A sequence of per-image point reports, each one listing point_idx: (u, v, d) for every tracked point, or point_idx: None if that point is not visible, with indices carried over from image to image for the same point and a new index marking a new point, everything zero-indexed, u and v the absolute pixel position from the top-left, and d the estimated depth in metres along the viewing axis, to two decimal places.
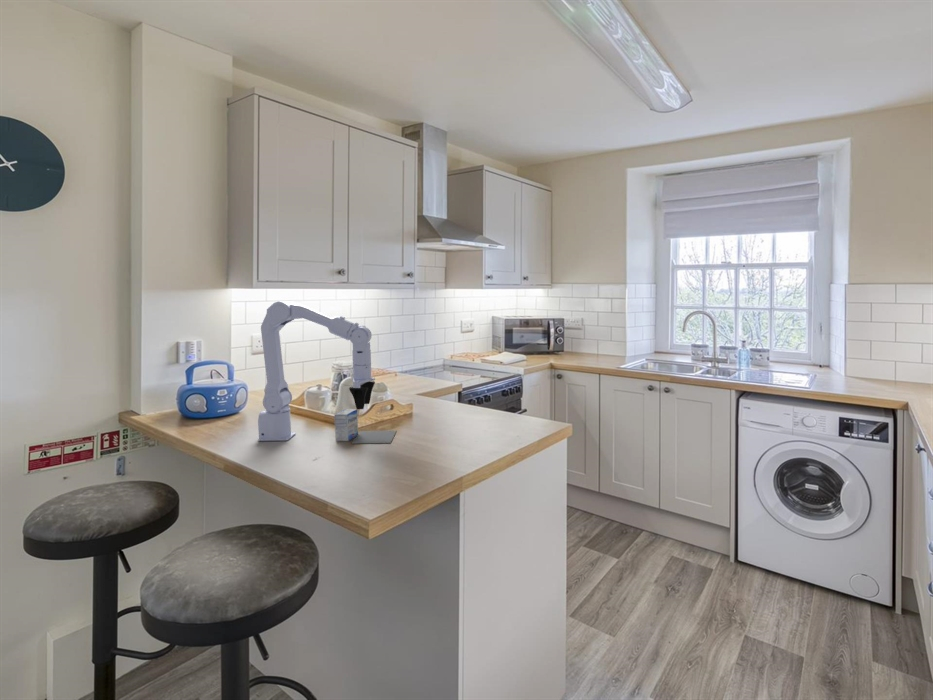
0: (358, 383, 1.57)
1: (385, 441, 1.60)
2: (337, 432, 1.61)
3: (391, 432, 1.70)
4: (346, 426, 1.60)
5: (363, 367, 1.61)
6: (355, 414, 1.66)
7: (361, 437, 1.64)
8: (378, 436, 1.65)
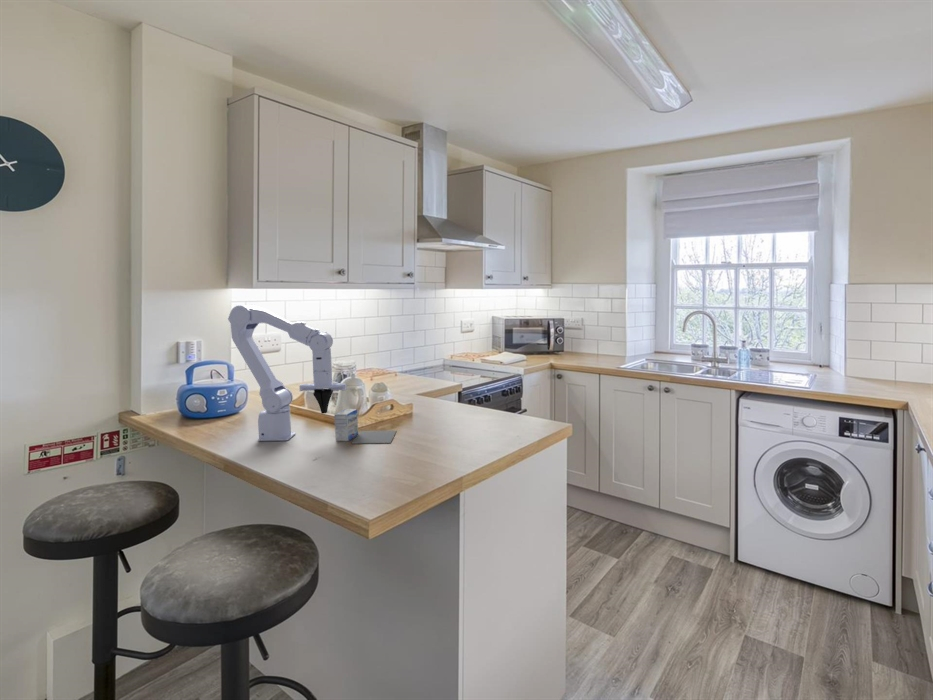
0: None
1: (385, 441, 1.60)
2: (337, 432, 1.61)
3: (391, 432, 1.70)
4: (346, 426, 1.60)
5: (313, 373, 1.62)
6: (355, 414, 1.66)
7: (361, 437, 1.64)
8: (378, 436, 1.65)
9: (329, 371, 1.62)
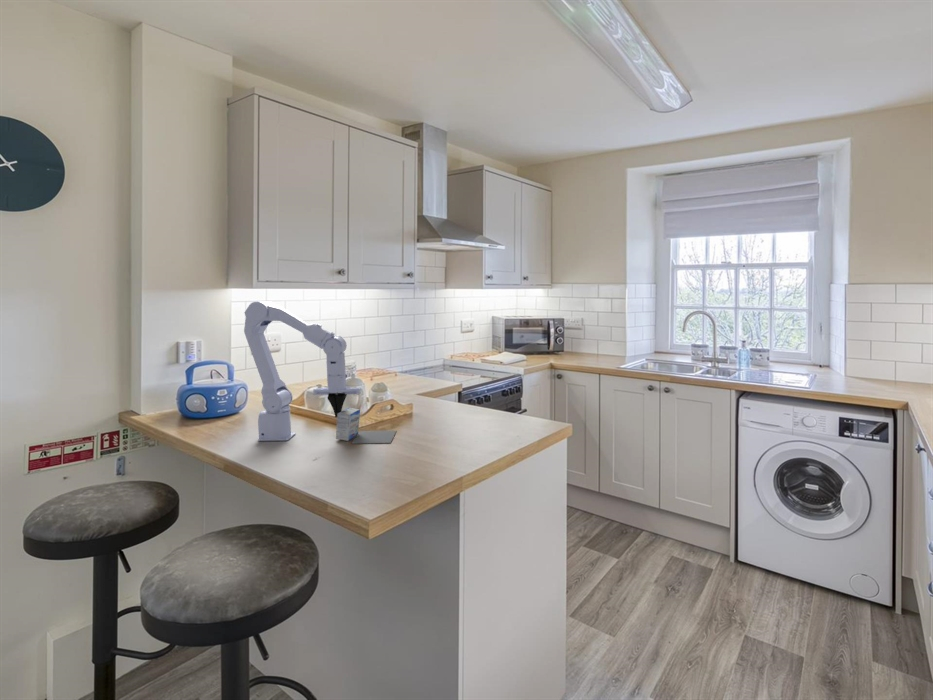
0: None
1: (385, 441, 1.60)
2: (338, 430, 1.61)
3: (391, 432, 1.70)
4: (348, 426, 1.60)
5: (327, 377, 1.62)
6: (358, 414, 1.66)
7: (361, 437, 1.64)
8: (378, 436, 1.65)
9: (343, 375, 1.62)
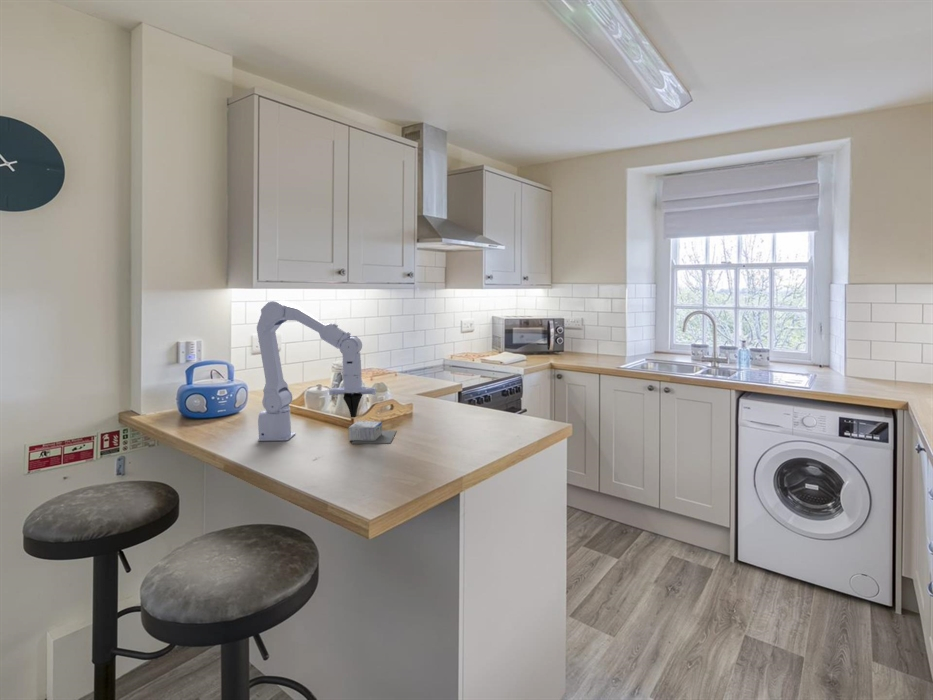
0: None
1: (385, 441, 1.60)
2: (356, 430, 1.60)
3: (391, 432, 1.70)
4: (363, 439, 1.60)
5: (343, 377, 1.62)
6: None
7: None
8: None
9: (359, 375, 1.62)
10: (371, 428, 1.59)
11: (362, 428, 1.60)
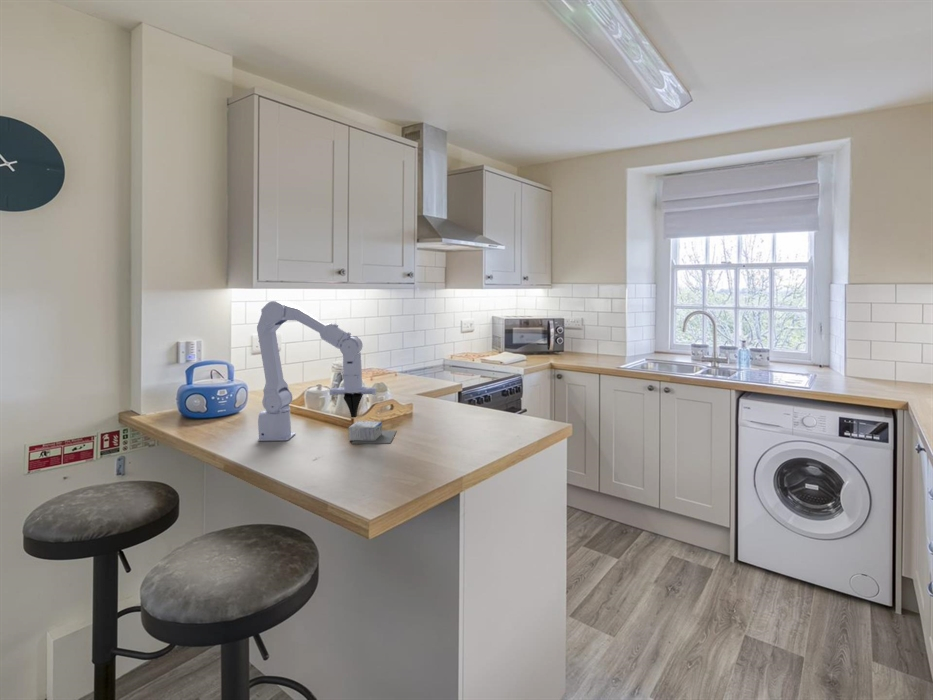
0: None
1: (385, 441, 1.60)
2: (356, 430, 1.60)
3: (391, 432, 1.70)
4: (363, 439, 1.60)
5: (343, 377, 1.62)
6: None
7: None
8: None
9: (360, 375, 1.62)
10: (371, 428, 1.59)
11: (362, 428, 1.60)
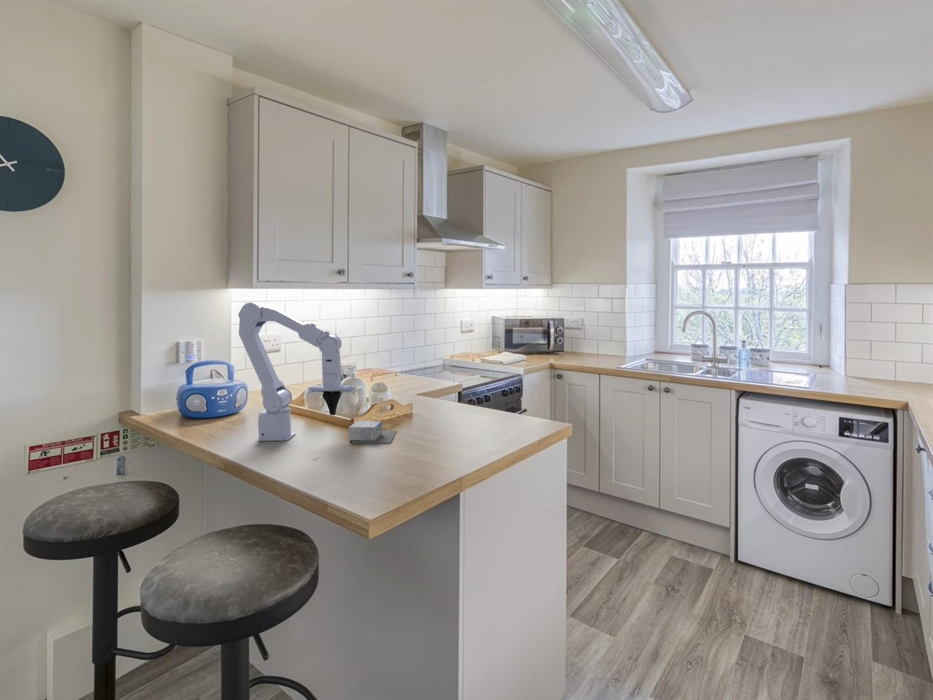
0: None
1: (385, 441, 1.60)
2: (356, 430, 1.60)
3: (391, 432, 1.70)
4: (363, 439, 1.60)
5: (322, 375, 1.63)
6: None
7: None
8: None
9: (338, 373, 1.62)
10: (371, 428, 1.59)
11: (362, 428, 1.60)
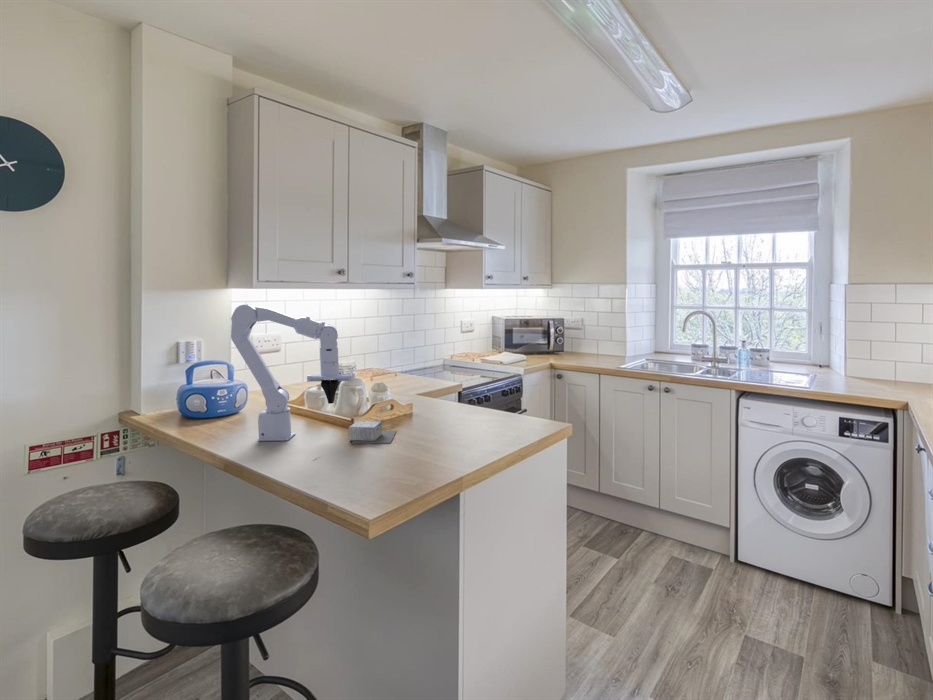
0: None
1: (385, 441, 1.60)
2: (356, 430, 1.60)
3: (391, 432, 1.70)
4: (363, 439, 1.60)
5: (320, 364, 1.66)
6: None
7: None
8: None
9: (336, 363, 1.66)
10: (371, 428, 1.59)
11: (362, 428, 1.60)
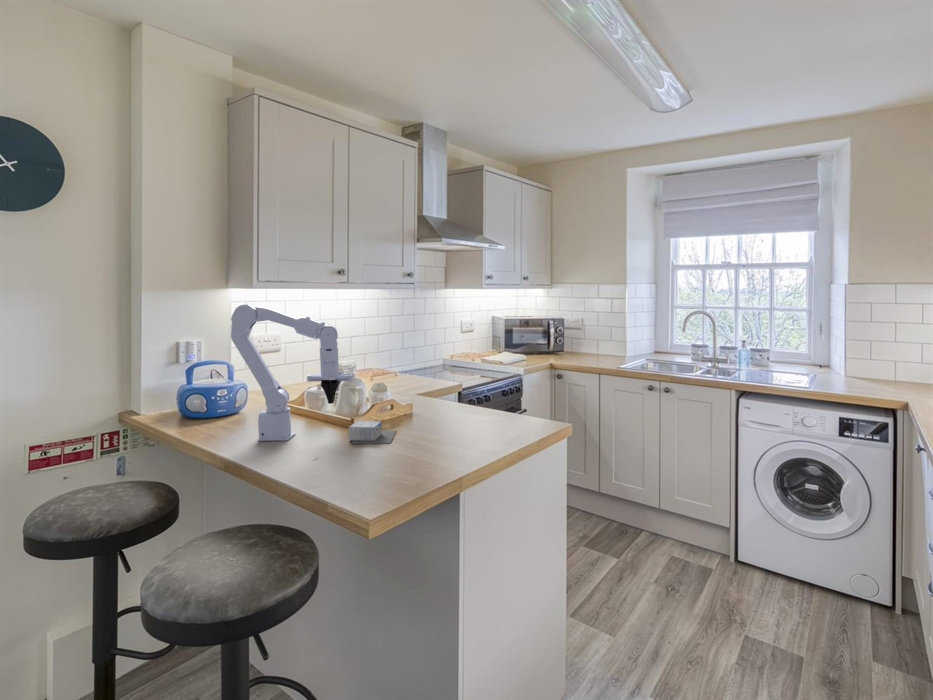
0: None
1: (385, 441, 1.60)
2: (356, 430, 1.60)
3: (391, 432, 1.70)
4: (363, 439, 1.60)
5: (320, 364, 1.66)
6: None
7: None
8: None
9: (336, 363, 1.66)
10: (371, 428, 1.59)
11: (362, 428, 1.60)
